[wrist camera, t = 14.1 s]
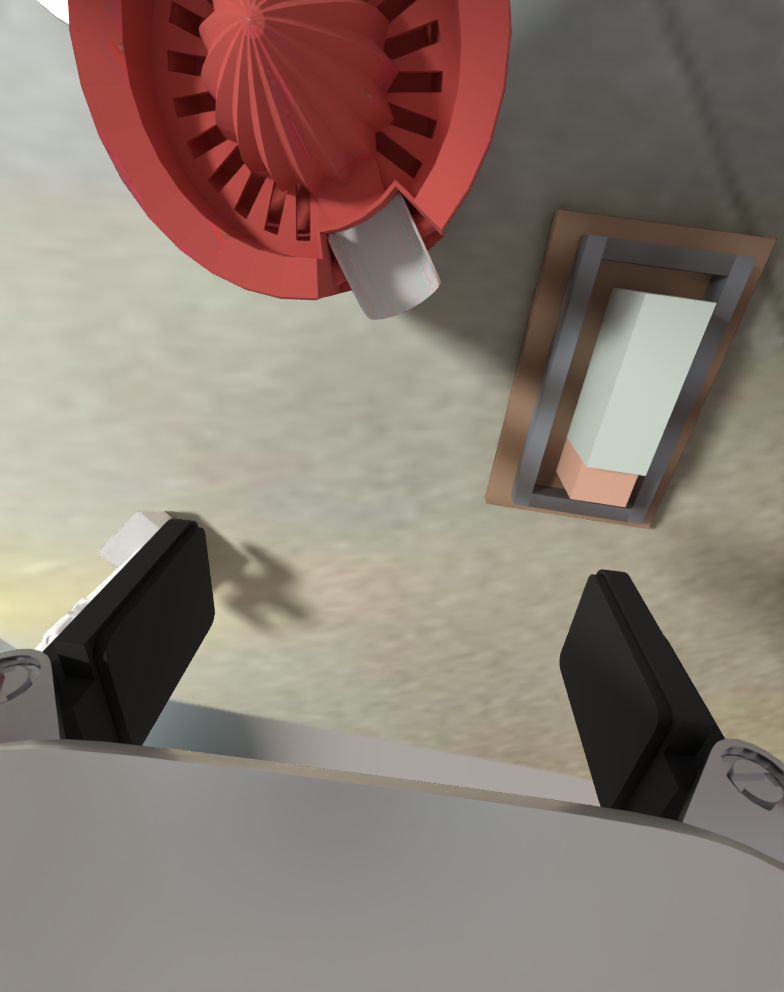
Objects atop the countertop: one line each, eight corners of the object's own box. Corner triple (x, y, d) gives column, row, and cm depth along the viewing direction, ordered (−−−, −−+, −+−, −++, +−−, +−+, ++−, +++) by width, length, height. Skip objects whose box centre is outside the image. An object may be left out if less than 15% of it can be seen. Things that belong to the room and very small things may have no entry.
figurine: (224, 537, 47) (136, 648, 33) (170, 583, 50) (71, 700, 37) (167, 486, 45) (49, 582, 31) (115, 537, 48) (-12, 644, 35)
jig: (555, 210, 32) (565, 206, 29) (765, 239, 31) (797, 237, 28) (485, 497, 42) (488, 514, 39) (643, 521, 41) (657, 541, 38)
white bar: (613, 287, 32) (646, 293, 27) (671, 295, 32) (716, 302, 27) (556, 471, 39) (573, 505, 33) (604, 478, 39) (630, 513, 33)
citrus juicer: (330, 340, 37) (225, 417, 19) (201, 91, 31) (-135, -136, 13) (523, 240, 33) (614, 219, 15) (417, -77, 26) (358, -768, 9)
